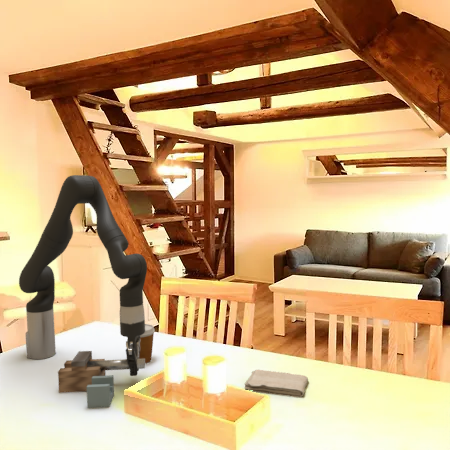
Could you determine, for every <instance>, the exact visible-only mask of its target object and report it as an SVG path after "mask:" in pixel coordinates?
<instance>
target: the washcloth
mask: <svg viewBox="0 0 450 450" xmlns="http://www.w3.org/2000/svg"><path fill="white" fill-rule="evenodd" d="M308 382H309V379H308V377H307V376H306V375H302V374H297V373H296V374H295V373H290V372H282V371H281V372H280V371H271V370H264V369H255V370H253V371H252V372H251V375H250V376H249V377H248V379H247V380H246V382H245V383H244V389H245V388H246V390H247V389H249V390H248V391H250V390H253V391H252V392H255V391H256V392H255V393H264V394H271V395H279V396H287V397H294V398H302V397H303V396H304V395H305V389H306V388H307V385H308Z"/></svg>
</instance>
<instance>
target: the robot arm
mask: <svg viewBox="0 0 450 450" xmlns="http://www.w3.org/2000/svg"><path fill="white" fill-rule="evenodd" d="M57 196H58V197H57V200H56V203H55V206H54V208H53V210H52V213H51V215H50V217H49V219H48V221H47V224H46V226H45V227H44V230H43V231H42V234H41V236H40V238H39V240H38V242H37V244H36V246H35V249H34V251H33V252H32V254H31V256H30V257H29V259H28V260H27V263H26V264H25V266H23V269H21V272H20V275H19V278H18V279H19V280H18V285H19V289H20V290H21V291H22V292H23V293H25V294H34V293H36V295H35V296H34V297H33V298H32V299H30V300H29V301H28V302H27V303H26V304H25V308H26V309H25V311H26V312H25V313H26V326H27V331H26V332H25V347H26V358H27V359H32V360H43V359H44V360H45V359H47V358H51V357H53V356H54V355H55V354H56V353H57V352H56V335H55V331H56V330H55V314H54V304H55V298H56V297H55V296H56V295H55V289H56V287H55V285H56V284H55V275H54V274H55V273H54V270H53V269H52V268H51V266H49V265H50V264H51V263H52V262H54V261H55V260H57V258H58V257H60V256H61V255H62V254H63V253H64V252H65V251H66V249H67V247H68V246H69V244H70V242H71V240H72V238H73V234H74V229H73V223H72V220H71V216H72V213H73V210H74V209H75V208H76V207H77V205H78V204H89V205H90V206H91V207H92V209H93V210H94V212H95V215H96V233H97V236H98V238H99V241H101V243H102V245H103V246H104V248H105V250H106V252H107V255H108V259H109V263H110V266H111V270H112V272H113V274H114V275H115V277H117V278H119V279H120V280H126V279H128V280H127V282H126V283H125V284H124V285H123V286H121V287H120V288H119V330H120V332H119V333H120V335H121V336H123V337H126V338H127V341H125V347H126V348H125V355H126V359H127V363H128V365H129V364H130V369H129V376H131V377H136V376H137V375H138V372H139V370H140V369H137V363H138V361H137V359H139V357H140V356H139V355H140V342H141V340H140V335H142V334H144V333H145V324H146V321H145V320H146V319H145V318H146V317H145V307H144V293H143V291H144V286H145V283H146V278H147V273H148V265H147V261H146V258H145V257H144V256H143V255H142V254H140V253H132V254H125V253H124V252H125V251H126V250H128V248H129V245H130V244H129V241H128V239H127V237H126V236H125V234H124V233H123V231H122V229H121V227H120V226H119V224H118V223H117V221H116V219H115V217H114V215H113V212H112V209H111V207H110V204H109V202H108V200H107V197H106V195H105V192H104V190H103V188H102V186H101V184H100V181H99V180H98V179H97V178H96V177H95V176H93V175H85V174H84V175H81V174H80V175H79V174H78V175H76V174H75V175H68V176H67V177H66V178H65V180H63V183H62V184H61V188H60V190H59V193H58V195H57ZM131 359H134V360H131Z"/></svg>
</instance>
